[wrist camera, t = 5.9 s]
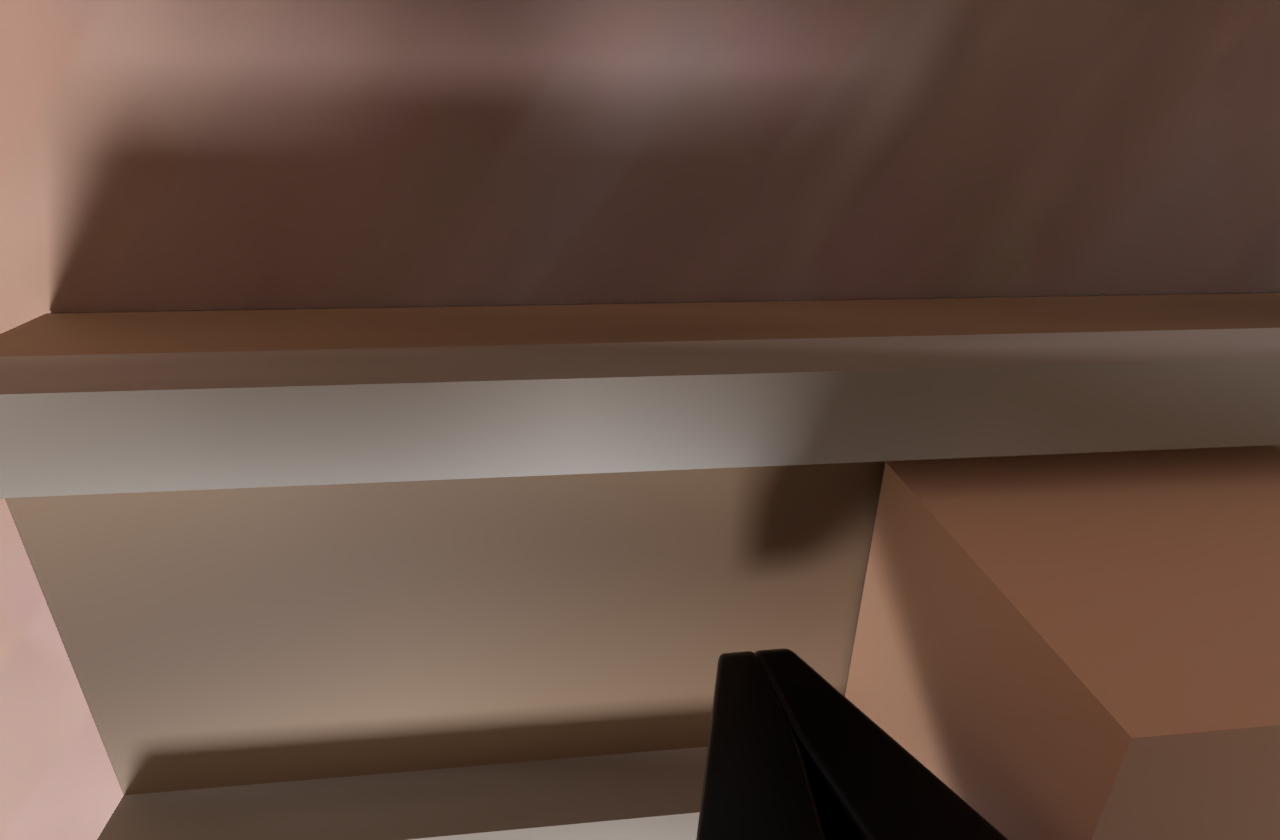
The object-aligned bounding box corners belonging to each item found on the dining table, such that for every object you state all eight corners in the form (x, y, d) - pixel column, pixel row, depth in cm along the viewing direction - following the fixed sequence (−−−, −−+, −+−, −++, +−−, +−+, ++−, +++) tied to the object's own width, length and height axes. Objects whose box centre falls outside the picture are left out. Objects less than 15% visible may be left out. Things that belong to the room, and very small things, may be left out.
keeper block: (1169, 689, 11) (1484, 996, 7) (841, 715, 10) (1001, 1061, 7) (1271, 445, 9) (1748, 683, 5) (885, 461, 9) (1131, 739, 5)
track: (1215, 674, 13) (1468, 898, 9) (193, 754, 11) (24, 1072, 8) (1386, 291, 10) (1846, 404, 7) (46, 313, 8) (-340, 488, 5)
